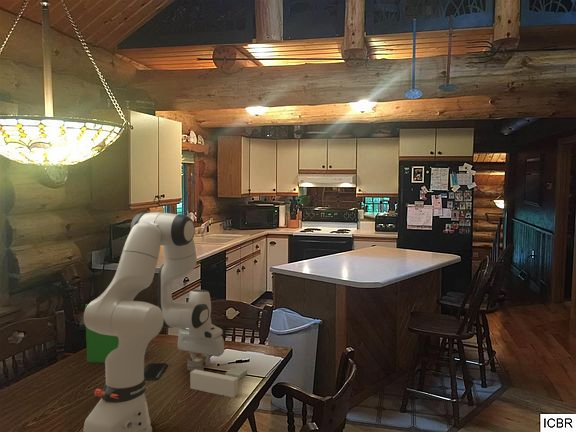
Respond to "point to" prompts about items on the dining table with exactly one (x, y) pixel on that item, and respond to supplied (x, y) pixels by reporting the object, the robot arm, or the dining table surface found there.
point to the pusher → (197, 363)
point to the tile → (236, 372)
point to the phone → (154, 371)
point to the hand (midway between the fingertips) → (200, 363)
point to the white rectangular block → (214, 383)
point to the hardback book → (99, 345)
